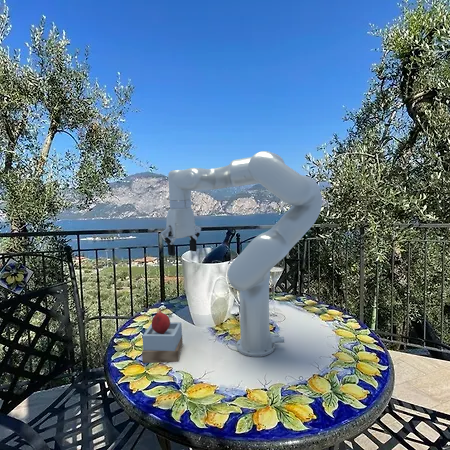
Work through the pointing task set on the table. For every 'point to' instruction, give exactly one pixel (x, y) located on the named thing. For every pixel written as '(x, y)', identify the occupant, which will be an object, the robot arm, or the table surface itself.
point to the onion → (160, 322)
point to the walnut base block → (162, 355)
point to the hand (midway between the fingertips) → (182, 253)
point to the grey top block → (162, 338)
